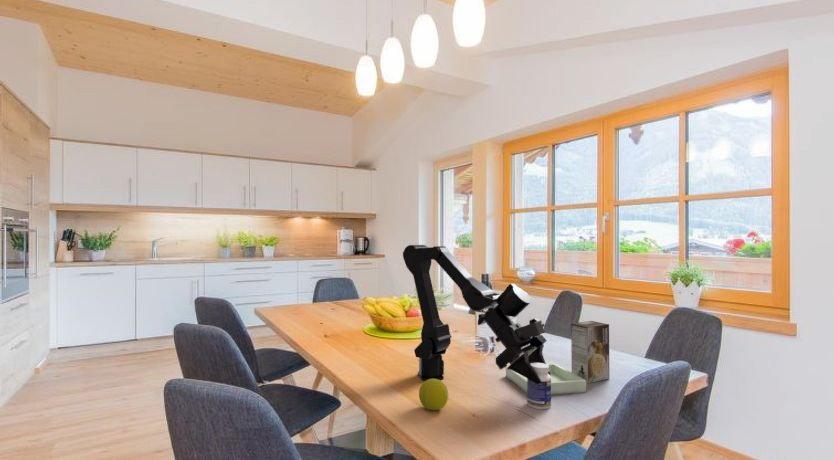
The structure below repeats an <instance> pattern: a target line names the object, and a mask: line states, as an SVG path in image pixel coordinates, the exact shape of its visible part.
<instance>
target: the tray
mask: <svg viewBox="0 0 834 460" xmlns="http://www.w3.org/2000/svg"><path fill="white" fill-rule="evenodd" d="M546 364H547V365H549V372H550V374H551V396H552V395H565V394H577V393H578V394H579V393H587V383H586V380H584V379H582V378H580V377H579V376H577V375H575V374H573V373H572V371H571V370H568V369H566V368H564V367H562V366H560V365H559V364H557V363H546ZM509 366H510V365H507V366H506V367H505V377H506V378H508V380H509V381H511V382H512V383H513V384H515V385H516V386H517V387H518V388H520V389H521V390H523V392H525V393H527V378H526V377H524V376H522V375H520V374H518V373H516V372H514V371H512V370H510V369H509V370H508V369H507V368H508V367H509Z"/></svg>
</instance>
